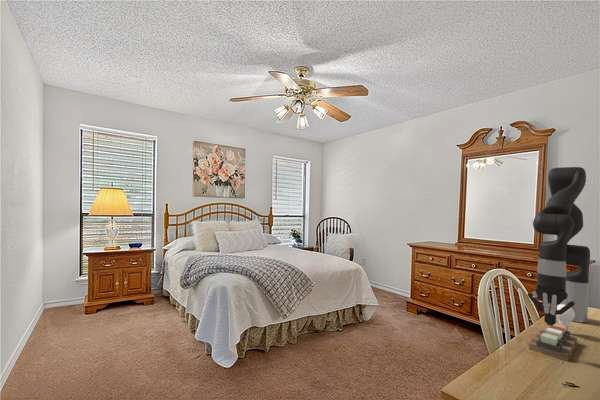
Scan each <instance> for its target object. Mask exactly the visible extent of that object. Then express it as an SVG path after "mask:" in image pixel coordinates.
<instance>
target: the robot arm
mask: <svg viewBox="0 0 600 400" xmlns="http://www.w3.org/2000/svg"><path fill="white" fill-rule="evenodd" d="M547 181H548V188H549V191H550V195H551V196H550V197H549V198H548V201H547V203H546V205H545V207H544V208H543V209H541V210H540V211H539V212H538V213H537V214H536V215H535V217H534V219H533V221H532V227H533V230H535V232H537V233H538V234H542V235H549V236H550V235H551V236H556V239H554V240H550V241H548V240H547V241H541V242H540V243H539V247H538V260H537V261H538V262H537V268H536V271H537V277H536V287H535V289H534V291H532V292H531V291H530V292H528V293H527V297H528V299H530V300H531V302H532V303H533V304H534V306H535V307H536V308H537V310H538V311H539V310H540V311H542V312H543V313H544V318H543V319H544V323H546V325H547V326H549V327H550V326H553V325H555V323H557V317H556V315H559V314H560V315H561V314H563V313H564V312H566V311H567V310H568V309H570V308H572V309H573V310H574V312H575V317H574V319H573V320H572V321H571V322H576V323H582V322H585V323H588V321H589V319H588V317H589V316H588V315H589V283H590V282H589V274H590V273H589V272H590V263H591V262H590V261H591V250H590V248H589V247H588V246H586V245H585V246H584V245H578V244H576V245H575V244H569V242H570V240H572V239H573V238H574V237H575V236H576V235H578V233H580V232H581V231H582V229H583V228H584V215H583V212H582V210H581V209H580V207H579V206H577V205H576V204H575V202H576V200H577V199H578V197H579V196H580V195H581V192H582V191H583V189H584V188H585V185H586V181H587V173H586V169H584V168H583V167H581V166H573V167H572V166H571V167H570V166H567V167H566V166H565V167H554V168H553V167H552V168H551V169H549V171H548V173H547ZM567 265H568V266H575V267H578V269H576V270H573V271H567ZM538 298H539V299H540V300H541V301H542V302H543V303H541V302H540V300H539V299H538ZM560 304H565V306H564V307H563V308H561V309H560V310H557V307H558V305H560Z"/></svg>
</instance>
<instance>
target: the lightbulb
mask: <svg viewBox="0 0 600 400" xmlns="http://www.w3.org/2000/svg"><path fill="white" fill-rule="evenodd" d="M564 306H565V304H558V307H557V310H560V309H561V308H563V307H564ZM574 317H575V312H574V310H573V309H572V308H570V309H568V310H567V311H566V312H564V313H563V314H561V315H560V314H559V315H556V320H557V321H558V324H561V325H565V326H567V327H566V331H569V327H570V324H571V322H573V321H572V320H573V319H574Z"/></svg>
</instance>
